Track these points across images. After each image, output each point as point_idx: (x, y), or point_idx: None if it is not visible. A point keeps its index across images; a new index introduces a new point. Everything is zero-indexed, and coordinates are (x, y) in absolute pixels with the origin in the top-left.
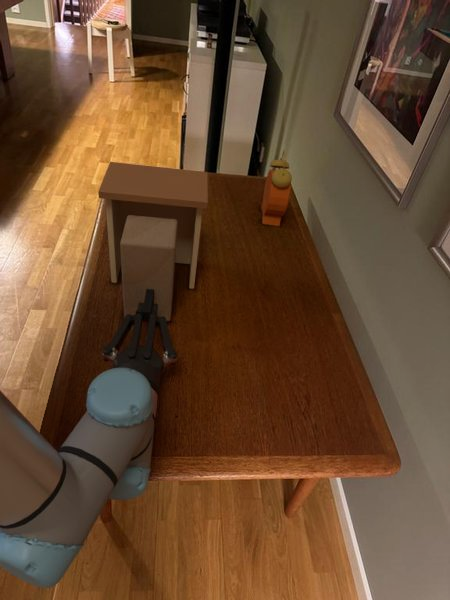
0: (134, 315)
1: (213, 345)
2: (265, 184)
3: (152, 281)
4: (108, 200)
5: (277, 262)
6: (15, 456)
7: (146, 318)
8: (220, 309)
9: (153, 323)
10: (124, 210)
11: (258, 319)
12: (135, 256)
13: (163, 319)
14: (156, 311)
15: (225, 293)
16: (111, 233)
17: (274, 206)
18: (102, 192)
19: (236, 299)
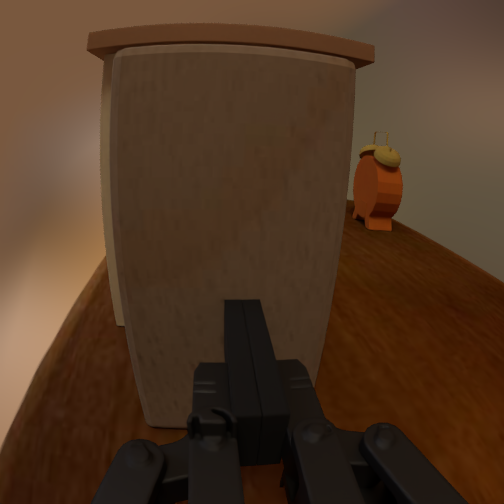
0: (181, 444)
1: (463, 457)
2: (354, 183)
3: (252, 257)
4: (110, 70)
5: (430, 266)
6: None
7: (257, 449)
8: (414, 358)
9: (346, 492)
10: None
11: (491, 357)
12: (175, 111)
13: (394, 441)
14: (314, 400)
15: (398, 323)
16: (108, 168)
17: (386, 197)
18: (98, 33)
19: (426, 330)
